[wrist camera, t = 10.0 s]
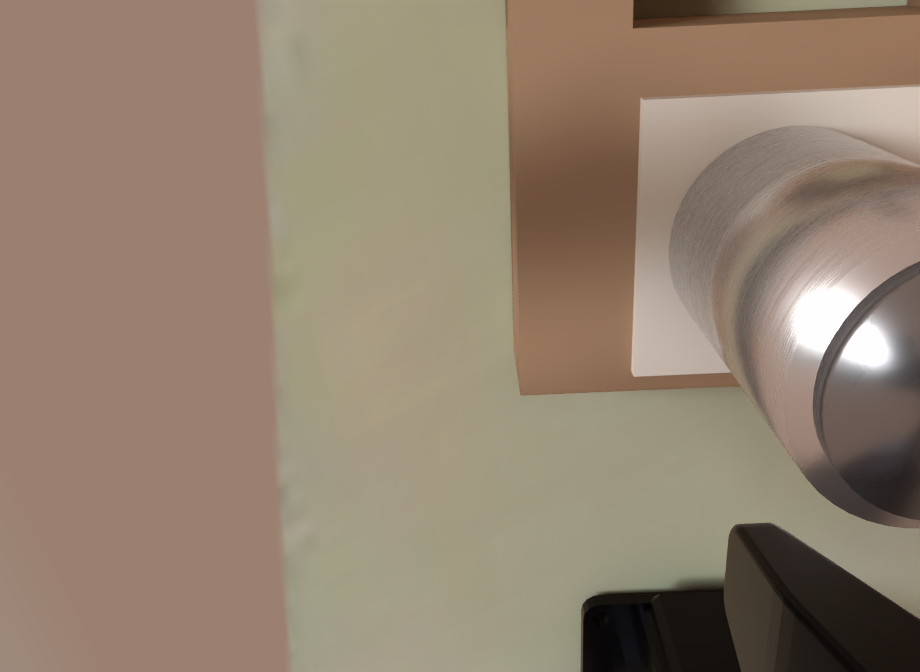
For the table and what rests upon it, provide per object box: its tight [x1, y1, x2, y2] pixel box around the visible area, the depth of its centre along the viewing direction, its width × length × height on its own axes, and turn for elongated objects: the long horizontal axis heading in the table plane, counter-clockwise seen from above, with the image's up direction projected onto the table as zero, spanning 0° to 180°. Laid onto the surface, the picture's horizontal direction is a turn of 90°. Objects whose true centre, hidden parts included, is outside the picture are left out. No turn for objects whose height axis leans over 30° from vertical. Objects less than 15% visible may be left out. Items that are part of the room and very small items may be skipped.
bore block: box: [506, 0, 920, 395], centre depth 18 cm, size 16×11×3 cm
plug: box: [669, 125, 920, 528], centre depth 15 cm, size 5×5×7 cm
